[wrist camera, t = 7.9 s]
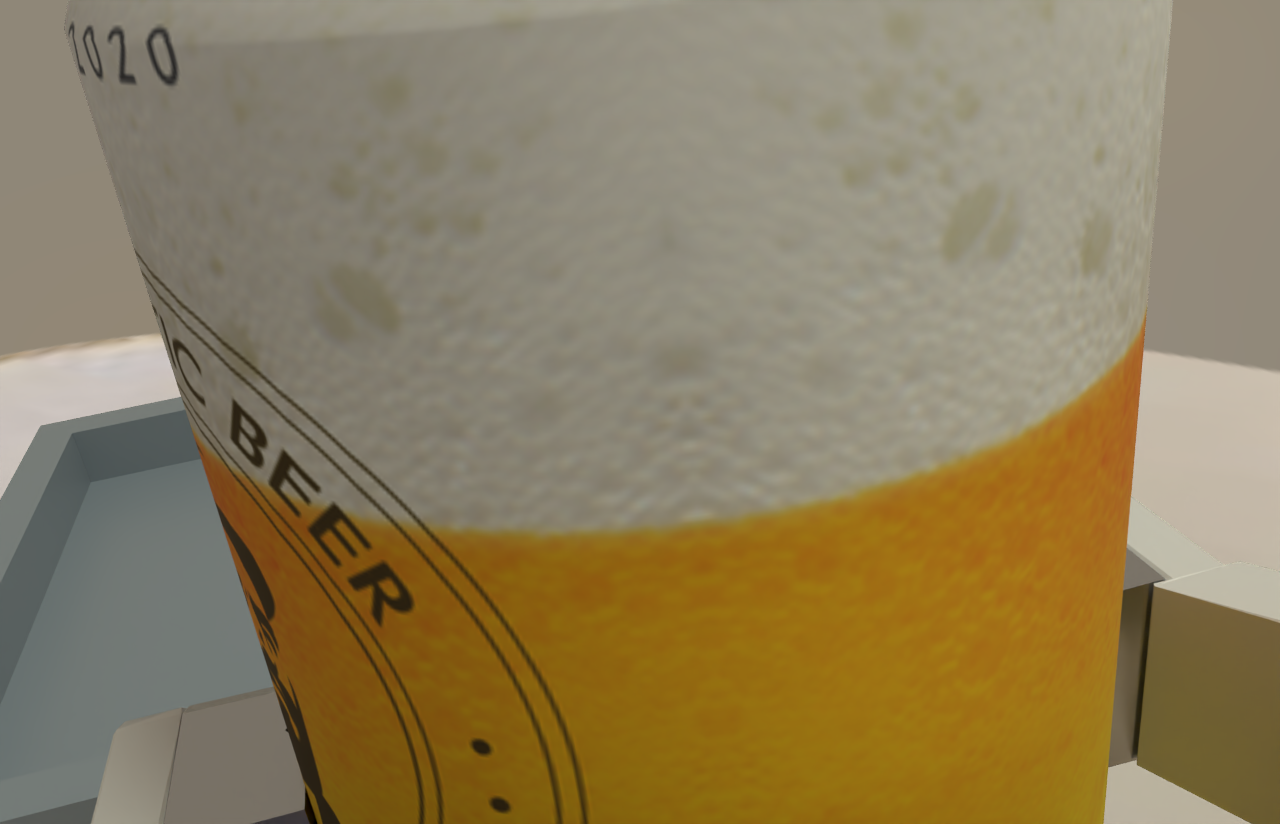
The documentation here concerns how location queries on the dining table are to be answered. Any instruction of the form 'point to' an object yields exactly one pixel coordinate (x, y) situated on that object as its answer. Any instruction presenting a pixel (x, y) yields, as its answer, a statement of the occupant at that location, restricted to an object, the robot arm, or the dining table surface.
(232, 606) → the tray
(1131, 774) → the dining table surface
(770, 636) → the beer can
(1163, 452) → the dining table surface
